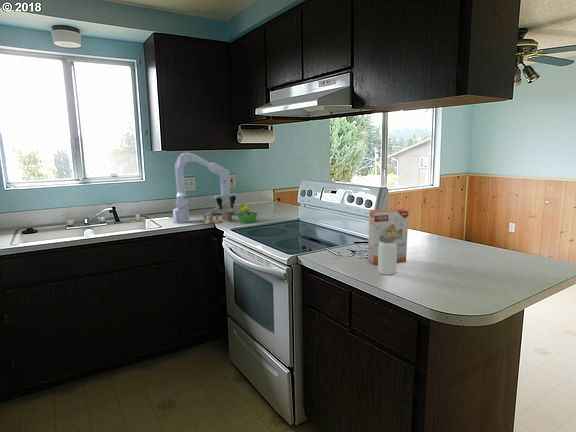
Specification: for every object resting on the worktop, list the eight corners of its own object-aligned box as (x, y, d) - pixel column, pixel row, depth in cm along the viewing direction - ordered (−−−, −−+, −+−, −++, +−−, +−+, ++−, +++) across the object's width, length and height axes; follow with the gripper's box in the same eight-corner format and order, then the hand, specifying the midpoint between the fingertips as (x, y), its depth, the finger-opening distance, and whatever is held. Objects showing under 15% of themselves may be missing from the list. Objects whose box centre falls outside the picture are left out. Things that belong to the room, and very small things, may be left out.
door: (228, 221, 241) (227, 212, 240) (222, 219, 249) (221, 210, 248) (231, 221, 242) (231, 211, 241) (225, 218, 250) (224, 209, 249)
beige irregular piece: (207, 224, 234) (206, 217, 234) (200, 221, 244) (199, 215, 243) (222, 222, 240) (221, 215, 239) (214, 219, 250) (214, 213, 249)
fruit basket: (245, 224, 232) (244, 205, 230) (235, 222, 238) (234, 204, 236) (258, 221, 241) (257, 203, 239) (248, 219, 246) (248, 202, 244)
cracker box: (373, 265, 148) (374, 212, 144) (367, 260, 153) (368, 209, 150) (407, 262, 150) (409, 210, 146) (400, 258, 156) (401, 207, 152)
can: (398, 275, 136) (399, 242, 133) (379, 275, 136) (380, 243, 134) (393, 269, 142) (394, 238, 140) (376, 269, 142) (377, 238, 140)
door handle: (211, 223, 265) (234, 210, 260) (205, 213, 265) (228, 199, 259) (221, 218, 282) (242, 205, 277) (215, 209, 282) (236, 195, 276)
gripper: (217, 189, 235) (218, 210, 237) (238, 187, 242) (239, 208, 245) (212, 188, 240) (214, 209, 243) (233, 186, 248) (234, 206, 251)
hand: (226, 208), depth 244 cm, fingers open, 7 cm apart
